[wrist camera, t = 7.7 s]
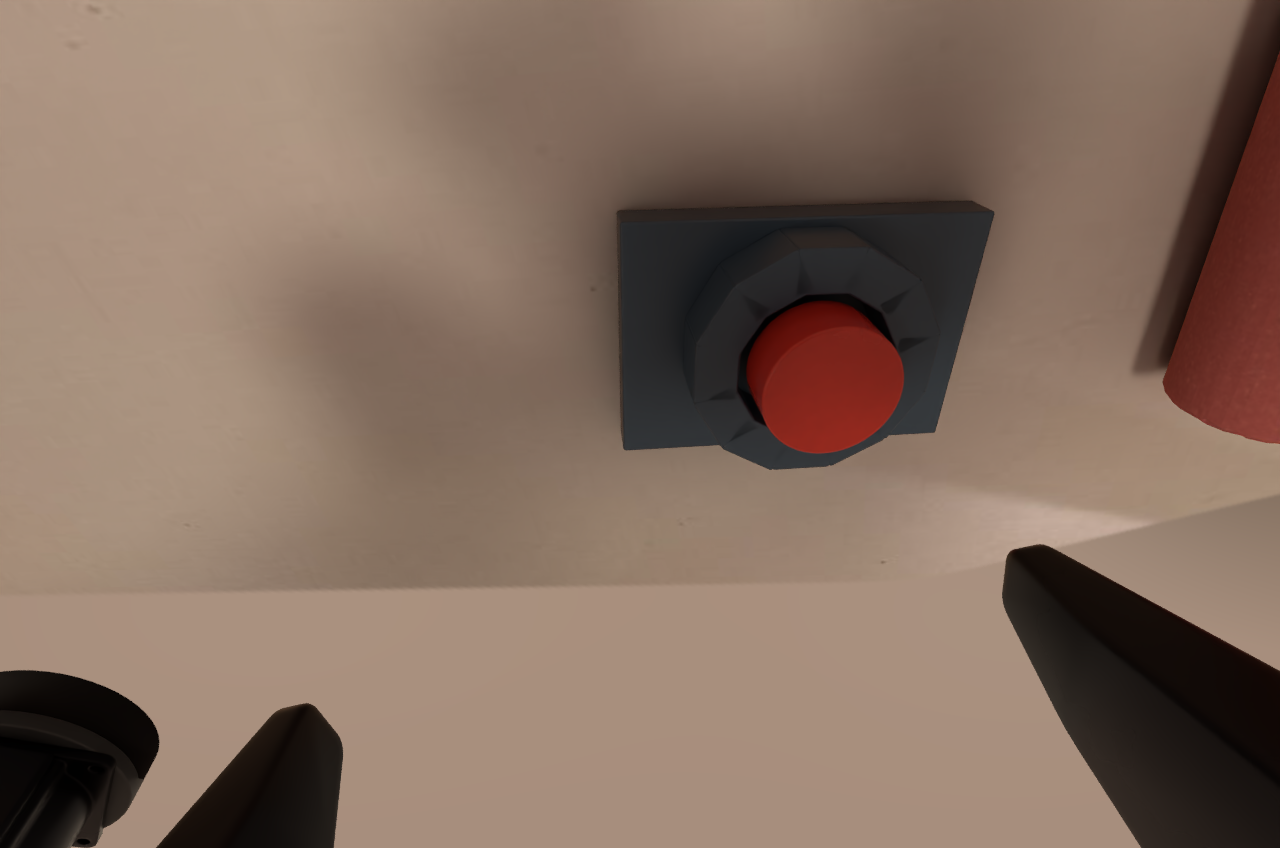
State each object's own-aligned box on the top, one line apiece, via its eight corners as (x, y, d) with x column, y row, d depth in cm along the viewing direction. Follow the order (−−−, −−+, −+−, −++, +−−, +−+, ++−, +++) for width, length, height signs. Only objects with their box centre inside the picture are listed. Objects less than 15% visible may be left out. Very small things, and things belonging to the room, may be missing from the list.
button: (740, 422, 19) (755, 458, 18) (751, 302, 17) (769, 330, 16) (864, 416, 19) (890, 450, 18) (889, 296, 17) (919, 323, 16)
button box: (620, 430, 22) (628, 487, 19) (616, 210, 18) (625, 244, 16) (918, 414, 23) (964, 466, 20) (972, 200, 19) (1036, 230, 16)
